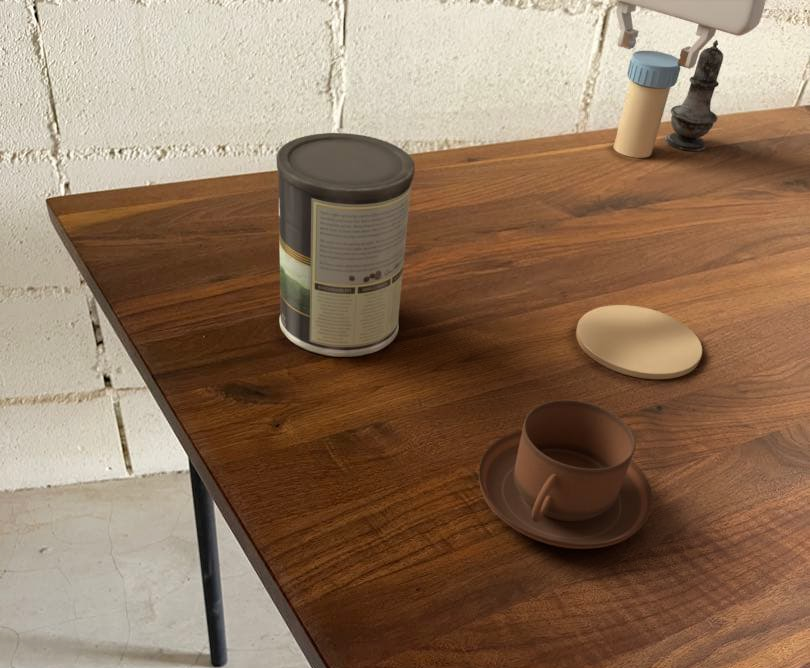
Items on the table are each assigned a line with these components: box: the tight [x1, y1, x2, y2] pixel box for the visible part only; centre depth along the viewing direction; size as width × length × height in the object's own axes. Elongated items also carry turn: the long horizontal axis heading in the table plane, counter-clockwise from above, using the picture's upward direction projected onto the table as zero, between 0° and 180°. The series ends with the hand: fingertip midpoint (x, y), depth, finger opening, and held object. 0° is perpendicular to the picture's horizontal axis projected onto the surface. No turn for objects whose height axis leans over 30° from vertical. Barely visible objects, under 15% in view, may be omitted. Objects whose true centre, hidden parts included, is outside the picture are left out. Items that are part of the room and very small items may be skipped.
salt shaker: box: [664, 39, 724, 152], centre depth 109 cm, size 6×6×12 cm
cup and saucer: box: [478, 399, 654, 550], centre depth 60 cm, size 12×12×6 cm
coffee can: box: [275, 132, 416, 358], centre depth 71 cm, size 10×10×14 cm
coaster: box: [575, 304, 703, 380], centre depth 78 cm, size 11×11×1 cm
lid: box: [626, 50, 681, 88], centre depth 104 cm, size 6×6×2 cm
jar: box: [613, 79, 671, 159], centre depth 107 cm, size 5×5×10 cm
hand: (655, 56), depth 103 cm, fingers open, 6 cm apart
